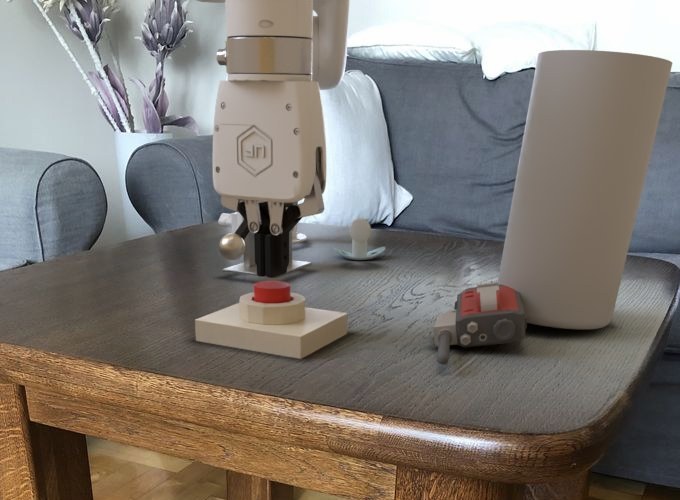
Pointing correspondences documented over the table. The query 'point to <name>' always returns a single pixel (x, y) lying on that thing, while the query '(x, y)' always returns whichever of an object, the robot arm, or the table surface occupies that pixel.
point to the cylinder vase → (580, 182)
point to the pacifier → (360, 242)
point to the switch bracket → (249, 258)
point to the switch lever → (234, 242)
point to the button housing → (272, 327)
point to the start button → (272, 292)
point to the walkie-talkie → (481, 319)
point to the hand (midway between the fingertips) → (272, 274)
